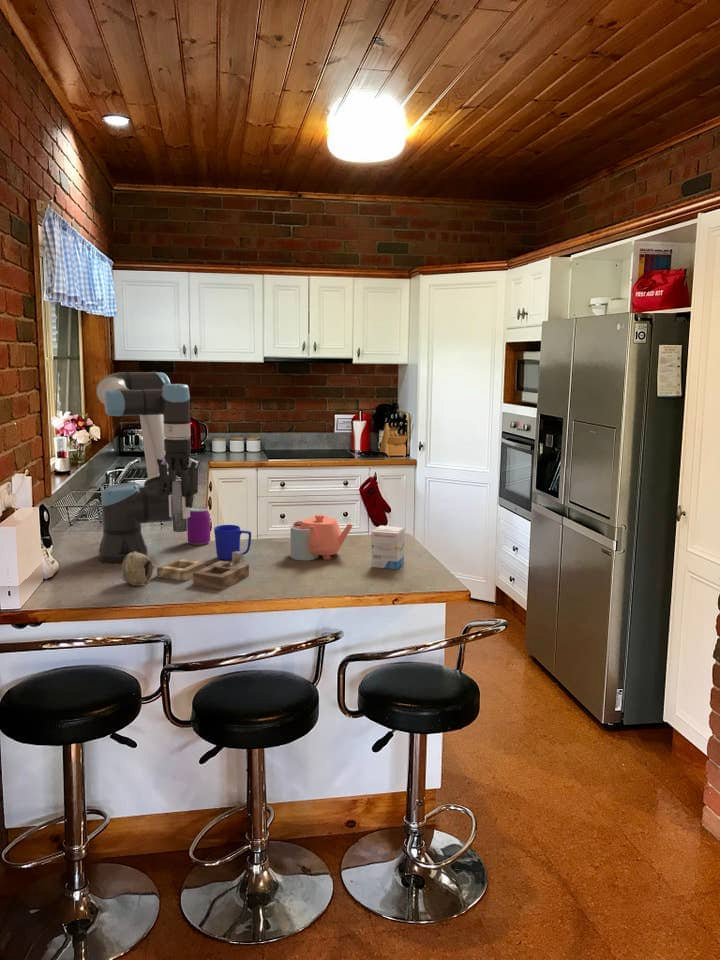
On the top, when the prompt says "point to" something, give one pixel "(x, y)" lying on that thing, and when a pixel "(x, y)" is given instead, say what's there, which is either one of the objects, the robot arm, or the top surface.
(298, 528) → the mug
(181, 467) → the robot arm
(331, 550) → the teapot
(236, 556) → the drift key
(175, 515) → the peg
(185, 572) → the frame
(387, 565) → the ink box
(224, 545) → the mug
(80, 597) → the top surface
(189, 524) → the beverage can
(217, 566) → the socket block
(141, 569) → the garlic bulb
